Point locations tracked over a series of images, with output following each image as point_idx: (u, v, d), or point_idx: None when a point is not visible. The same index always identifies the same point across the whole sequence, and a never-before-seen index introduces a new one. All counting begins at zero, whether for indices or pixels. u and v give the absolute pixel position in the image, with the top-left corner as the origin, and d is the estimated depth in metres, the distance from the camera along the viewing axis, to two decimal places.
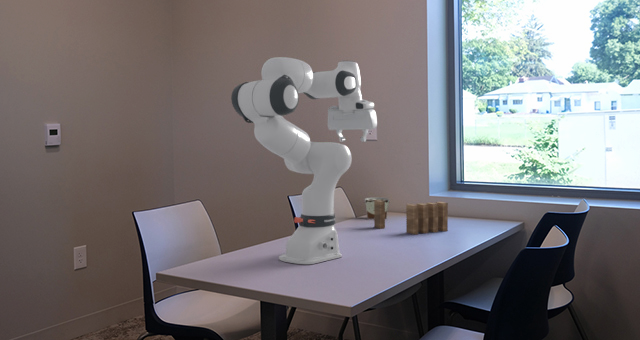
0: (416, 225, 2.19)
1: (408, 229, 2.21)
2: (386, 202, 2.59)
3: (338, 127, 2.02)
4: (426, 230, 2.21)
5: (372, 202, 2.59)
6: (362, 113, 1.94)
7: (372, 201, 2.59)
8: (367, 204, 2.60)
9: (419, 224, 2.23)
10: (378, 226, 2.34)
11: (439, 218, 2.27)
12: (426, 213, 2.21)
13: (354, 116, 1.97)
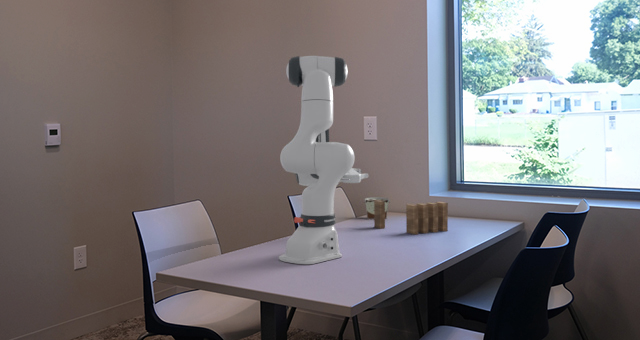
0: (416, 225, 2.19)
1: (408, 230, 2.21)
2: (386, 202, 2.59)
3: (355, 171, 2.20)
4: (426, 230, 2.21)
5: (372, 202, 2.59)
6: None
7: (372, 201, 2.59)
8: (367, 204, 2.60)
9: (419, 224, 2.23)
10: (378, 226, 2.34)
11: (439, 218, 2.26)
12: (426, 213, 2.21)
13: None
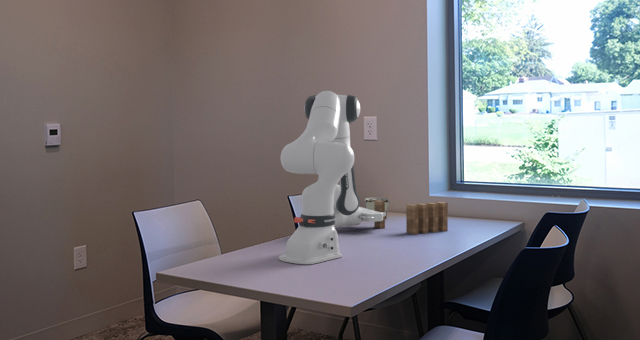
0: (416, 225, 2.19)
1: (408, 230, 2.21)
2: (386, 202, 2.59)
3: (375, 211, 2.29)
4: (426, 230, 2.21)
5: (372, 202, 2.59)
6: None
7: (372, 201, 2.59)
8: (367, 204, 2.60)
9: (419, 224, 2.23)
10: (378, 226, 2.34)
11: (439, 218, 2.26)
12: (426, 213, 2.21)
13: None
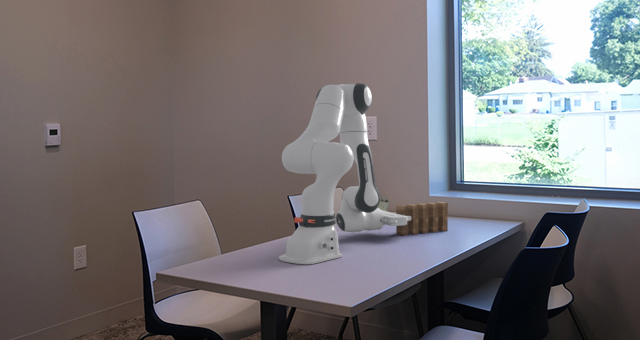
0: (416, 225, 2.19)
1: (408, 229, 2.21)
2: (386, 202, 2.59)
3: (398, 214, 2.12)
4: (426, 230, 2.21)
5: None
6: None
7: None
8: None
9: (419, 224, 2.23)
10: (401, 233, 2.18)
11: (439, 218, 2.26)
12: (426, 213, 2.21)
13: None
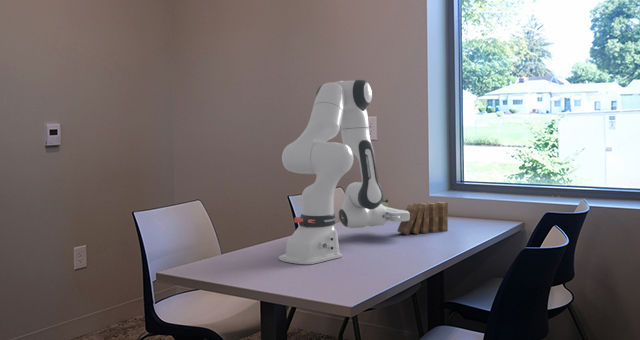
0: (418, 225, 2.19)
1: None
2: (386, 202, 2.59)
3: (401, 210, 2.13)
4: (426, 230, 2.21)
5: None
6: None
7: None
8: None
9: None
10: (402, 230, 2.18)
11: (439, 218, 2.26)
12: (427, 213, 2.21)
13: None
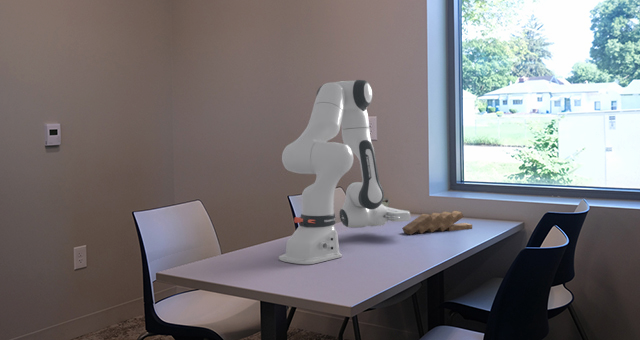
0: (427, 227, 2.21)
1: None
2: (386, 202, 2.59)
3: (401, 210, 2.13)
4: (433, 229, 2.23)
5: None
6: None
7: None
8: None
9: None
10: (408, 228, 2.19)
11: (456, 224, 2.30)
12: (446, 220, 2.25)
13: None
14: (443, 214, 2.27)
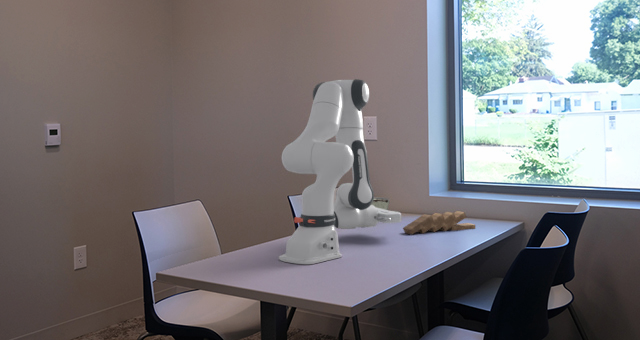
0: (429, 227, 2.22)
1: None
2: (386, 202, 2.59)
3: (393, 211, 2.11)
4: (435, 229, 2.23)
5: None
6: None
7: None
8: None
9: None
10: (409, 228, 2.19)
11: (458, 224, 2.30)
12: (448, 220, 2.25)
13: None
14: (445, 214, 2.28)
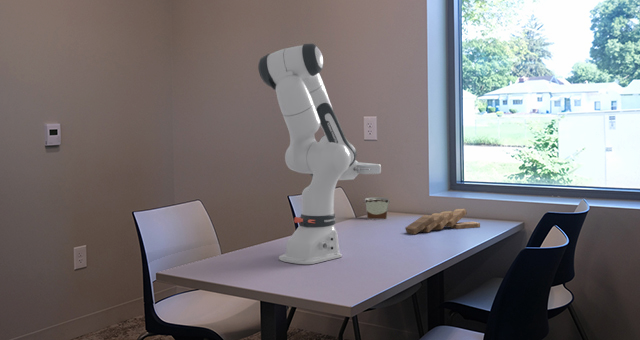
0: (433, 226, 2.24)
1: None
2: (386, 202, 2.59)
3: None
4: (442, 225, 2.26)
5: (372, 202, 2.59)
6: None
7: (372, 201, 2.59)
8: (367, 204, 2.60)
9: None
10: (412, 228, 2.20)
11: (463, 223, 2.34)
12: (449, 217, 2.31)
13: None
14: (443, 213, 2.34)
